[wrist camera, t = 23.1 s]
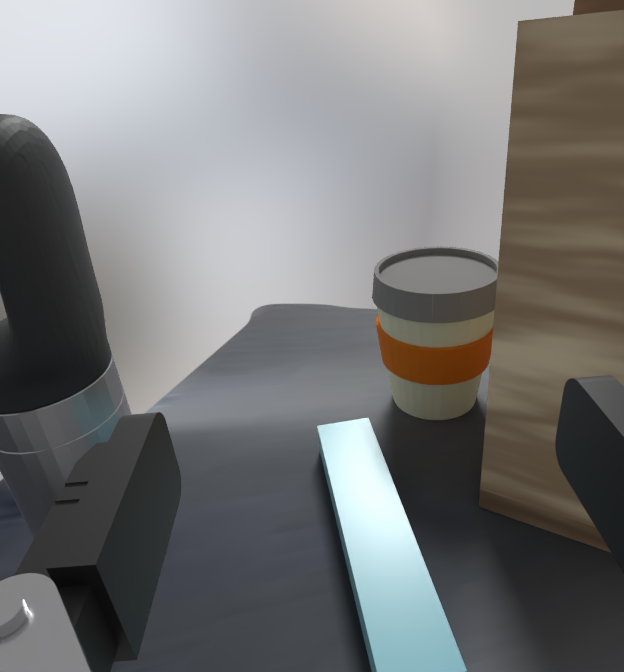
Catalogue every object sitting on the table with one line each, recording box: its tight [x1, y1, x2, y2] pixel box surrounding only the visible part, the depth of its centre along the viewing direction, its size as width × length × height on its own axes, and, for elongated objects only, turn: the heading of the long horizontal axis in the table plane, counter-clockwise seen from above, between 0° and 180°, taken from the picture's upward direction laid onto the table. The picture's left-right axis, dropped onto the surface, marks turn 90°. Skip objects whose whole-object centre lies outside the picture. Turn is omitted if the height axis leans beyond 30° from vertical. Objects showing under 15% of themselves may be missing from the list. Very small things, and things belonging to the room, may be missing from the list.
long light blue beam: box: [317, 418, 467, 672], centre depth 41 cm, size 22×5×15 cm
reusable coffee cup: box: [372, 247, 499, 420], centre depth 55 cm, size 13×13×15 cm
